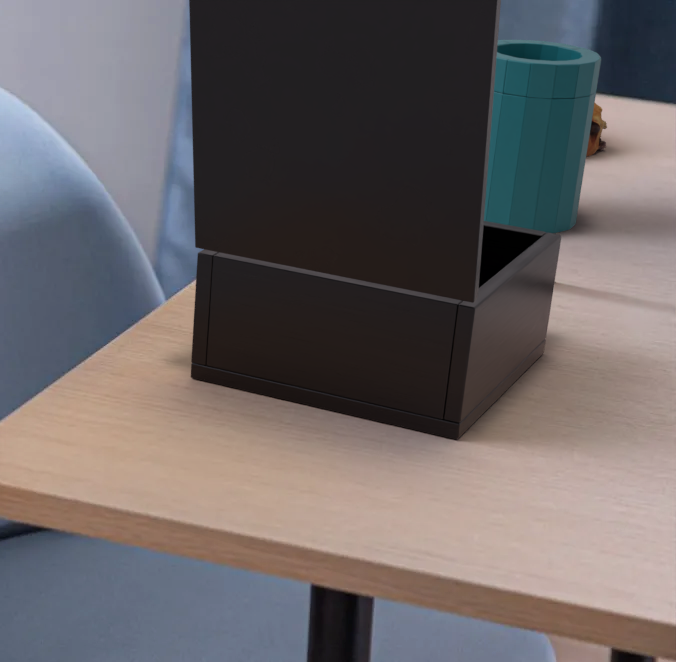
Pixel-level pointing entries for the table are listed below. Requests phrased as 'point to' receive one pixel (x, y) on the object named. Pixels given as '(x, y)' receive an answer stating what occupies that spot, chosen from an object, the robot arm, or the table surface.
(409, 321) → the chest
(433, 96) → the chest lid
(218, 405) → the table surface
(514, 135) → the crock
